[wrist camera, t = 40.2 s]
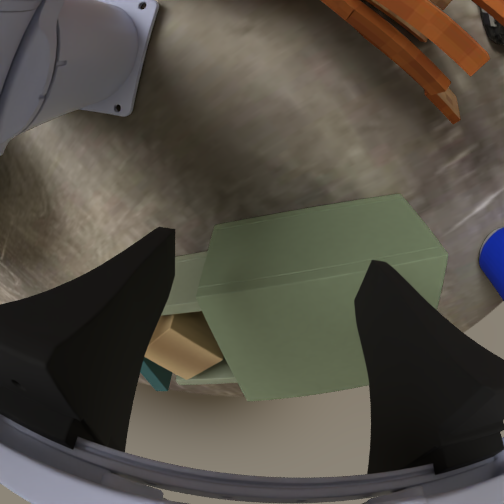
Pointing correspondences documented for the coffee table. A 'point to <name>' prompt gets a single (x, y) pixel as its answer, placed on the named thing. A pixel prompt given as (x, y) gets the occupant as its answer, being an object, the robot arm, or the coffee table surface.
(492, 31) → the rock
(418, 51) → the toy
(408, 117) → the coffee table surface
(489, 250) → the beverage can
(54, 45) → the robot arm
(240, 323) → the cabinet
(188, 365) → the block
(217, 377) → the drawer
